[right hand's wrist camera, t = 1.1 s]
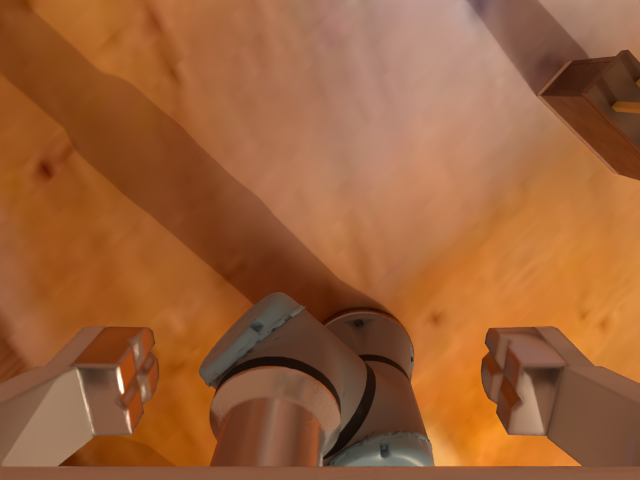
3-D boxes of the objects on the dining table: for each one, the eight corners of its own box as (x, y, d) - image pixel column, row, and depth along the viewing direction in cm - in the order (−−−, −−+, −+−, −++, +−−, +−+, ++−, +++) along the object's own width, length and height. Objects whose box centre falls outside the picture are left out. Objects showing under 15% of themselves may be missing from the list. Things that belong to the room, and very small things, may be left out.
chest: (535, 95, 50) (583, 97, 41) (567, 60, 49) (624, 54, 40) (613, 173, 54) (674, 191, 44) (646, 142, 52) (715, 154, 43)
